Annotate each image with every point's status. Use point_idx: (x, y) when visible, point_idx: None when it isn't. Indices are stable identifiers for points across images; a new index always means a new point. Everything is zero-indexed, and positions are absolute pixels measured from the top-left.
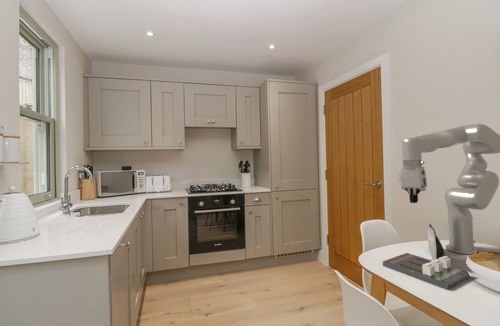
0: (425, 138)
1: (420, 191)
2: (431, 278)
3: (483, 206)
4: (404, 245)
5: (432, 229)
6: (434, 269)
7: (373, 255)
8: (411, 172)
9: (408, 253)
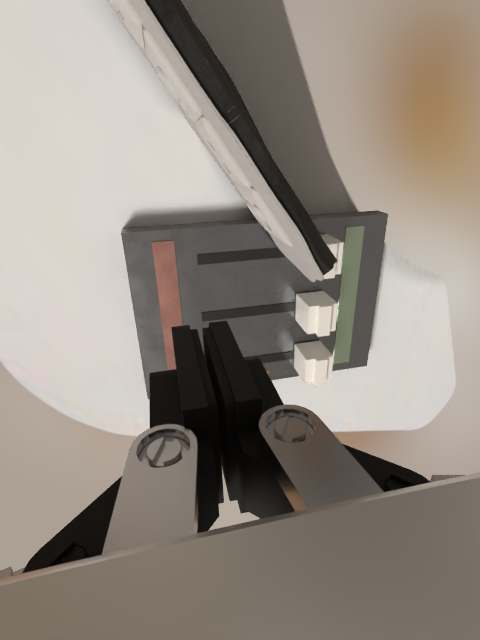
0: None
1: (393, 474)
2: None
3: None
4: None
5: (269, 188)
6: (327, 350)
7: (33, 344)
8: None
9: (132, 233)
